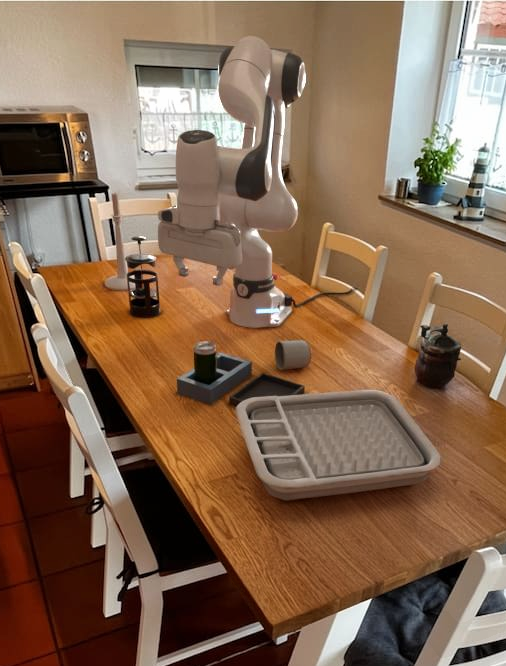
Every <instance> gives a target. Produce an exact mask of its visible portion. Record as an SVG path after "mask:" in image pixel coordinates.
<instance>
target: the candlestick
mask: <svg viewBox="0 0 506 666" xmlns="http://www.w3.org/2000/svg"><path fill="white" fill-rule="evenodd" d="M111 201H112V211H113V214H111V217H112V218H113V219H112V221H113V222H114V224H115V226H114V229H115V231H114V232H115V247H116V248H115V250H116V268H117V269H116V271H117V274H116V275H112V276H109V277H107V279H106V280H105V281H104V287H106V288H107V289H109V290H113V291H125V292H126V291H128V284H127V273H129V269H128V268H129V267H127V262H126V261H125V257H127V256H126V248H125V243H124V241H125V240H124V234H123V229H122V228H123V227H122V225H121V224H122V221H123V220H122V217H123V216H124V215H123V214H121V210H120V199H119V193H117V192H113V193H111ZM130 278H133V279H135V278H134V275H133V276H130ZM129 286H130V291H131V290H133V289H136V288H135V283H132V282H129Z"/></svg>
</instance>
